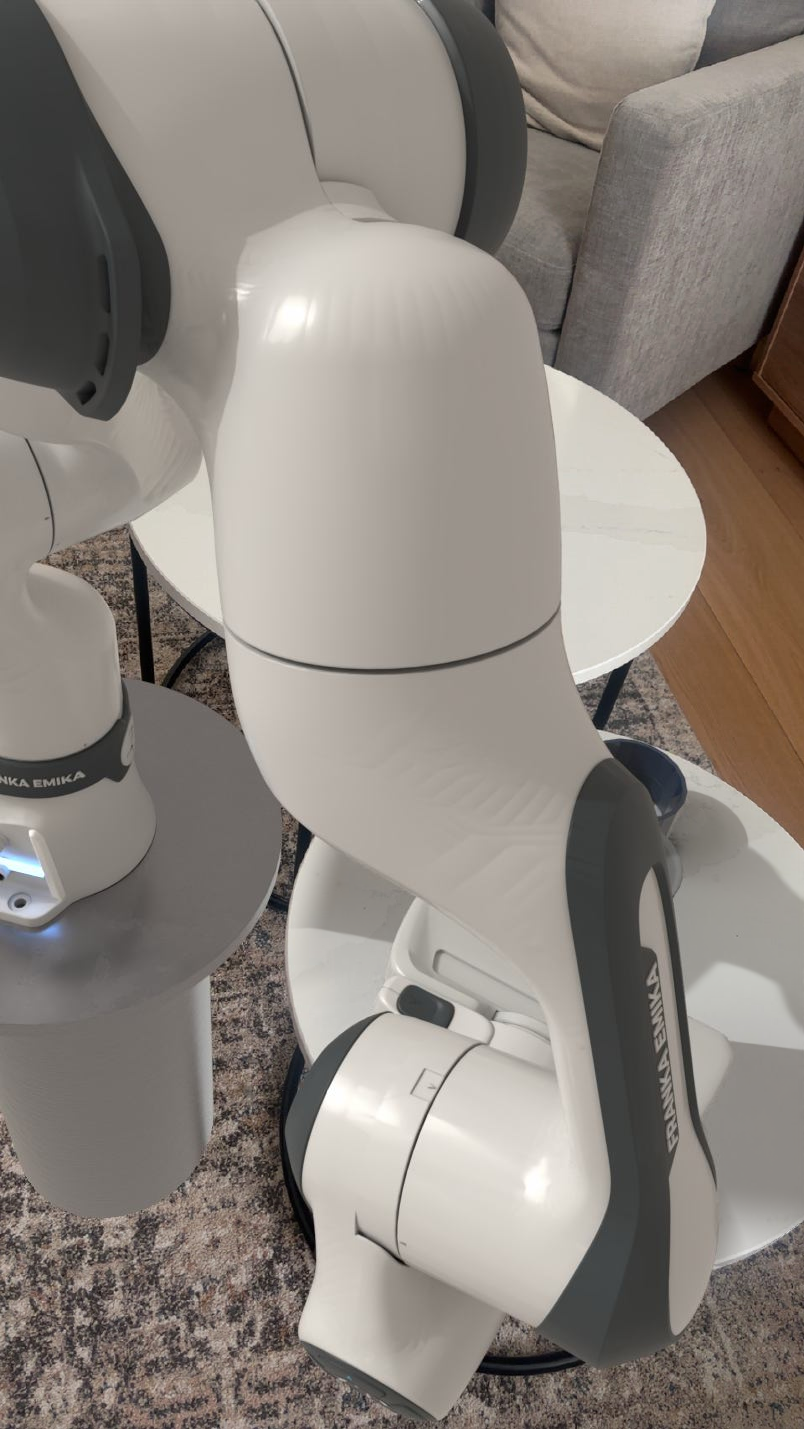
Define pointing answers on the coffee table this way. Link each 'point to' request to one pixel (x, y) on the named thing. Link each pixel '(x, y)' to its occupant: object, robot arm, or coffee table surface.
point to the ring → (653, 777)
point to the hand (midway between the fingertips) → (599, 915)
